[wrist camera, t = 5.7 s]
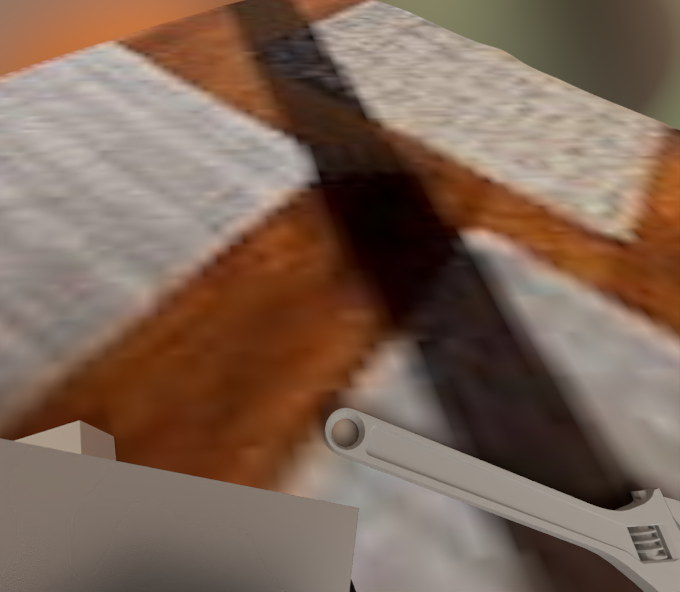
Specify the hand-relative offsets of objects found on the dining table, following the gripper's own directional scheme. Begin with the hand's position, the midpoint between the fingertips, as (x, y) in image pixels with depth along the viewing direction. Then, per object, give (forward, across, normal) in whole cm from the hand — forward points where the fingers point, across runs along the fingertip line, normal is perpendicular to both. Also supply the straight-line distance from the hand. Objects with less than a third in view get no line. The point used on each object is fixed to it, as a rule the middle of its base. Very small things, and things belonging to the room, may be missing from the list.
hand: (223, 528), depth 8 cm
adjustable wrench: (+13, -15, +7) cm, 21 cm away
